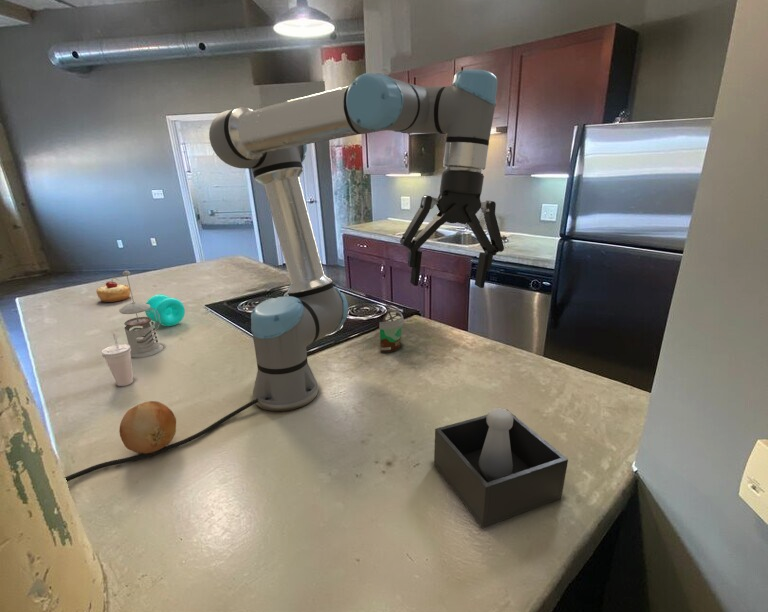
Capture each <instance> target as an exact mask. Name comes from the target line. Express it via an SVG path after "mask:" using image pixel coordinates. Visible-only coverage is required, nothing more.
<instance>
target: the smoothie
mask: <svg viewBox="0 0 768 612" xmlns="http://www.w3.org/2000/svg"><path fill="white" fill-rule="evenodd" d="M112 336H113V340H114V345H110V346H108V347H107V346H106V347H105V348H103V349H102V350H101V357H103V358H104V359H105V362H106V364H107V366H108V368H109V371H110V372H111V373H110V374H111V375H112V377H113V379H114V381H115V384H116V385H117V386H118V387H125V386H128V385H131V384H132V383H133V382H134V374H133V365H132V357H131V354H130V351H131V347H130V345H129V344H127V343H119V341H118V336H117V335H116V332H115V331H112Z"/></svg>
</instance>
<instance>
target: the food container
mask: <svg viewBox="0 0 768 612" xmlns="http://www.w3.org/2000/svg"><path fill="white" fill-rule="evenodd" d="M404 324H405V318H404V316H403V313H402V312H400V311H399V310H396V309H392V308H391V309H390V308H387V309H386V314H385V315H384V316H383V319H382V321H379V324H378V325H379V327H378V329H379V339H380V340H379V341H380V353H392V352H395V351H397V350H399V349H400V348H401V342H402V329H403V325H404Z"/></svg>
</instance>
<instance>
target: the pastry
mask: <svg viewBox="0 0 768 612" xmlns="http://www.w3.org/2000/svg"><path fill="white" fill-rule="evenodd" d="M113 279H114V280H117V281H119V279H118V278H117V277H112V278H111V280H113ZM130 288H131V286H130V287H129V284H128V285H127V284H123V283H121V284H120V283H117V282H115V281H106V283H105V285H104V286H101V287H98V288H97V289H96V292H95V293H96V296H97V297H98V299H99V300H100V301H101V302H105V303H113V302H115V303H116V302H120V301H124V300H127V299H128V298H129V297H130V296H131V291H130Z"/></svg>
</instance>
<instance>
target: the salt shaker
mask: <svg viewBox="0 0 768 612" xmlns="http://www.w3.org/2000/svg"><path fill="white" fill-rule="evenodd" d="M507 410H508V409H507ZM507 410H506V409H505V408H502V407H496V408H492V409H490V410H488V412H487V414H486V415H487V418H486V422H487V424H488V426H489V429H488V432H487V436H486V439H485V442H484V445H483V449H482V452H481V455H480V458H479V462H478V466H479V468H480V470H481V473H482V475H483V476H484V478H485V479H486V480H487V482H490V481H493V480H496V479H499V478H502V477H505V476H508V475H510V474H511V473H512V469H513V463H512V455H511V447H510V438H509V430H510V429H511V428H512V426H513V415H514V414H513V413H512V412H511V411H509V410H508V411H507ZM510 412H511V413H512V414H513V415H512V414H511V413H510Z"/></svg>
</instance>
